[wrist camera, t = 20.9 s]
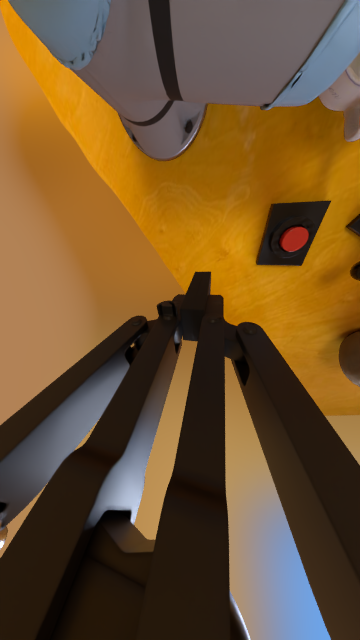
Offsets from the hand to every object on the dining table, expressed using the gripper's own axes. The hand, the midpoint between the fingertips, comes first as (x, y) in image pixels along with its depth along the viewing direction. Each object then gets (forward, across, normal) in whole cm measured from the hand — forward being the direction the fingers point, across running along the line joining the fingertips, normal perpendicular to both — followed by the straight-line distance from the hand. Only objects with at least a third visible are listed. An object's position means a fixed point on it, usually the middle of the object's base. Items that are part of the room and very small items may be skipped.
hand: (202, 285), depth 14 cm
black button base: (+25, +15, 0) cm, 29 cm away
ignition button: (+22, +15, 0) cm, 27 cm away
